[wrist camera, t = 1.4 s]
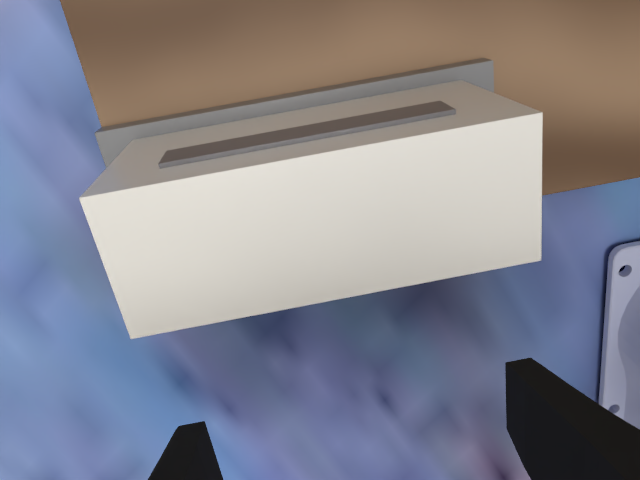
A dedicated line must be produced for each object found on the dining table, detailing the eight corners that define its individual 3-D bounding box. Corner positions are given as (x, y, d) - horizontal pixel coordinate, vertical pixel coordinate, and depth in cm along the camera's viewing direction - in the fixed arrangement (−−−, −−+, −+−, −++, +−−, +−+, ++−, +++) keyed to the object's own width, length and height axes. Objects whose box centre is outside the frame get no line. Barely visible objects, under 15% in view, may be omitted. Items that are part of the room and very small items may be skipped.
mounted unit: (488, 205, 19) (580, 288, 14) (148, 269, 19) (102, 380, 13) (483, 57, 17) (588, 85, 12) (101, 127, 17) (24, 188, 11)
